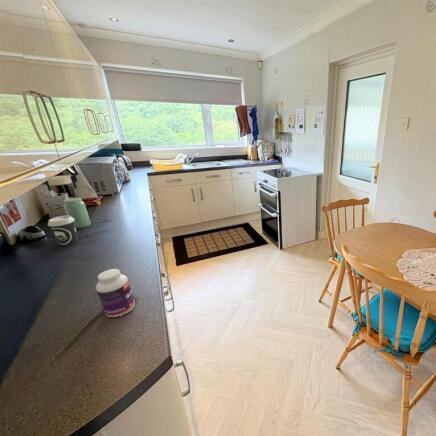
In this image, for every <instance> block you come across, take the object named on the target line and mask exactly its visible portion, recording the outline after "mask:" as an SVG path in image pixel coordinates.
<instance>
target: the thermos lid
mask: <svg viewBox="0 0 436 436" xmlns="http://www.w3.org/2000/svg"><path fill="white" fill-rule="evenodd" d="M71 176H72V175H56V176H51V177H52V178H51V179H49V180H48V184H49V185H51V186H62V185H69V184H73V182H72V179H71Z"/></svg>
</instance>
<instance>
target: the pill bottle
mask: <svg viewBox="0 0 436 436" xmlns="http://www.w3.org/2000/svg"><path fill="white" fill-rule="evenodd" d="M97 280H98V282H97V283H96V285H95V291H96V293H97V295H98V299H99V300H100V303H101V306H102V309H103V311H104V314H105V315H106V316H107V318H110V317H117V318H119V317H118V316H120V317H123V316H125V315H127V314H128V312H129V311H130V312H131V311H132V310H133V309H134V308H135V305H136V302H135V299H134V295H133V292H132V289H131V286H130V283H129V279H128V277H127V276H126V275H125V274H122V273H121V270H120V269H118V268H110V269H107V270H104V271H102V272H100V273H99V274H98V275H97ZM133 307H134V308H133ZM130 312H129V313H130ZM126 313H127V314H126ZM124 314H125V315H124ZM122 315H123V316H122Z"/></svg>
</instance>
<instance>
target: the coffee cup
mask: <svg viewBox="0 0 436 436" xmlns="http://www.w3.org/2000/svg"><path fill="white" fill-rule="evenodd" d="M74 221H75V220H74V218H72V217H71V216H68V215H60V216H54V217H52V218H50V219H48V222H47V227H49V228H51V231H52V232H53V234H54V236H55V238H56V239H57V241H58V243H59V245H60V246H61V247H66V246H68V247H69V246H72V245H75V244H77V243H78V242H79V237H78V232H77V228H75V224H74Z"/></svg>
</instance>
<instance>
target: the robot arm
mask: <svg viewBox="0 0 436 436" xmlns="http://www.w3.org/2000/svg"><path fill="white" fill-rule="evenodd" d="M70 167H71V168H70ZM70 167H69V168H68V169H66V170H65V171H66V172H67V173H68V174H70V176H71V179H72V185H73V188H74V190H77V189H78V188H79V187H78V184H77V183H78V181H79V180H78V177H77V176H78V175H80V174H81V172H80V170H79V169H78V167H77V166H76V165H75V164H74V165H73V166H70ZM42 185H45V186H46V187H47V190H48V192H52V191H53V187H52V185H49V184H48V181H46V182H45V183H43V182H42Z"/></svg>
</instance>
